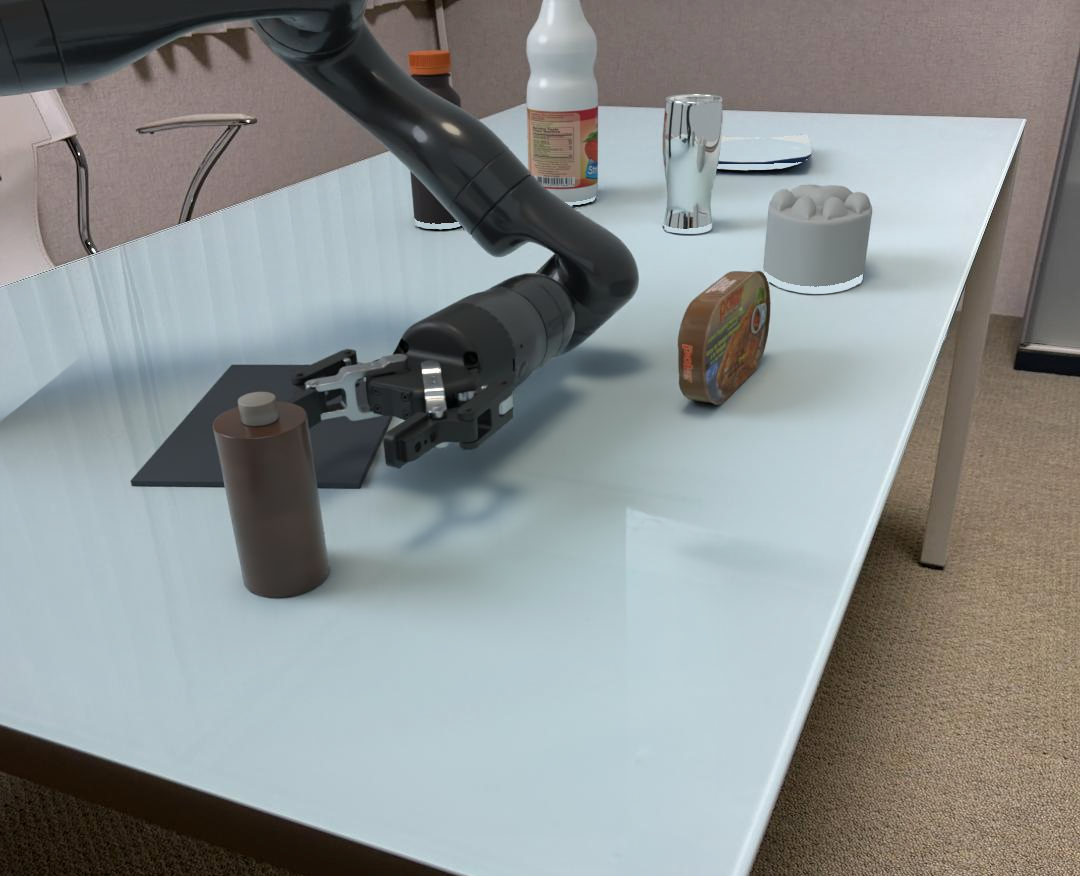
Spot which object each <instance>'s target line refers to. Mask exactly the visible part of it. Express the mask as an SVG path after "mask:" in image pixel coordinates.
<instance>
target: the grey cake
mask: <svg viewBox="0 0 1080 876" xmlns="http://www.w3.org/2000/svg"><path fill="white" fill-rule="evenodd" d="M870 200H871V199H870V198H869V196H868V195H867V194H866V193H864V192H862V191H855V192H853V191H851V190H850V189H849V188H848V187H846V186H843V185H838V184H837V185H836V184H835V185H834V184H827V185H818V184H800V185H798V186H796V187H794V188H793V189H792V190H788V189H786V188H784V189H780V190H778V191H776V192H775V193H774V195H773V196H772V198H771V200H770V201H769V204H768V207H767V208H768V209H767V218H766V230H765V242H764V253H763V265H762V269H763V268H764V271H765V272H767V273H768V274H769V275H771V276H773V277H774V278H776V279H778V280H780V281H782V282H786V283H788V284H789V283H790V284H794V285H800V286H810V287H811V286H814V287H817V286H818V287H819V286H828V285H829V286H830V285H835V284H839V283H845V282H847V281H850V280H852V279H854V278H856V277H859V276H860V275H862V274H863V272H864V273H865V269H866V260H867V253H868V246H869V238H870V231H871V223H872V217H873V206H872V203H871V201H870Z"/></svg>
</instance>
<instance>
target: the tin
mask: <svg viewBox="0 0 1080 876" xmlns="http://www.w3.org/2000/svg"><path fill="white" fill-rule="evenodd" d="M771 305H772V303H771V290H770V283H768V281H767V278H766V276H765V275H764V273H763V271H761V270H754V271H745V270H744V271H742V270H732V271H728V272H727V273H725V274H724V275H723V276H722V277H720V278H719V279H718V280H716V281H715V282H713V283H712V284H711V285H710V286H709V287H708V288H706V289H705V290H704V291H702V292H701V293H699V295H697V296H696V297H695V298H693V299H692V300H691V301H690V302H689V304H688V306H687V308H686V309H685V312H684V314H683V317H682V319H681V322H680V327H679V330H678V335H677V350H678V351H677V352H678V353H677V355H678V356H677V357H678V358H677V359H678V361H677V365H678V367H677V368H678V387H679V390H680V392H681V394H682V395H683V396H684V397H685V398H686V399H687V400H690V401H694V402H701V403H710V404H713V405H715V406H720V405H722V404H724V403H725V402H726V401H727V400H728V399H729V398H730V397H731V396H732V395H733V394H734V392H735V391H737V390H738V389H739V388H740V387H741V386H742V384H743V383H745V381H746V380H748V378H749V377H750V376H751V375H752V374H753V373H754V372H756V370H757V368H758V367H759V366H760V363H761V361H762V359H763V355H764V352H765V350H766V345H767V342H768V337H769V330H770V321H771Z"/></svg>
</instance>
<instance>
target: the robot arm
mask: <svg viewBox="0 0 1080 876" xmlns="http://www.w3.org/2000/svg"><path fill="white" fill-rule="evenodd" d="M368 2H369V0H0V97H8V96H19V95H20V96H21V95H26V94H31V93H32V94H33V93H38V92H44V91H51V90H57V89H64V88H67V87H68V88H71V87H75V86H80V85H83V84H89V83H92V82H95V81H98V80H100V79H104V78H105V77H108V76H110V75H112V74H114V73H117V72H119V71H121V70H122V69H125V68H127V67H129V66H130V65H132V64H134V63H136V62H137V61H139V60H141V59H143V58H144V57H146V56H148V55H149V54H151V53H152V52H155V51H156V50H158V49H160V48H161V47H163V46H165V45H167V44H170V43H171V42H173V41H174V40H176V39H178V38H180V37H182V36H185V35H187V34H189V33H192V32H195V31H198V30H201V29H204V28H207V27H212V26H217V25H221V24H222V25H223V24H230V23H237V22H243V21H250V25H251V27H252V29H253V31H254V33H255V34H256V36H257V37H258V39H259V40H260V41H261V43H262V44H263V45H264V46H265V47H266V48H267V49H268V51H270V52H271V53H272V54H273V55H275V57H276V58H278V59H279V60H280V61H281V62H283V64H285V65H286V66H287V67H288V68H290V69H291V70H292V71H293V72H295V74H297V75H298V76H299V77H301V78H302V79H303V80H304V81H306V82H307V83H308V84H309V85H311V86H312V87H314V88H315V89H316V90H317V91H319V92H320V93H321V94H322V95H324V96H325V97H326V98H327V99H328V100H330V101H331V102H332V103H333V104H334V105H336V106H337V107H338V108H339V109H341V111H342V112H344V113H345V114H346V115H347V116H349V118H351V119H352V120H354V121H355V123H357V124H358V125H359V126H361V128H363V129H364V130H365V131H366V132H367V133H368V134H370V135H371V136H372V137H373V138H374V139H376V140H377V141H378V142H379V143H380V144H381V145H382V146H383V147H385V148H386V149H387V150H388V151H389V152H390V153H391V154H392V155H393V156H394V157H396V159H397V160H398V161H399V162H400V163H401V164H403V165H404V166H405V168H407V169H408V171H409V172H410V171H411V172H412V173H413V174H414V175H415V176H416V177H417V178H418V179H419V180H420V181H421V182H422V183H423V184H424V185H425V186H426V188H427V189H428V190H429V191H430V192H431V193H432V194H433V195H434V196H435V197H436V198H437V199H438V201H439V202H440V203H441V204H442V205H443V206H444V207H445V208H446V209H447V211H449V213H450V214H451V215H452V216H453V217H454V218H455V219H456V220H457V221H458V222H459V224H460V225H461V226H462V228H463V229H464V231H466V232H467V234H468V235H469V236H471V238H472V239H473V241H475V242H476V243H477V244H478V246H480V247H481V249H482V250H484V252H486V253H488V255H490V256H492V257H495V258H503V257H506V256H508V255H510V254H512V253H514V252H515V251H517V250H518V249H519V248H521V247H523V246H525V245H526V244H529V243H533V244H536V245H538V246H540V247H543V248H545V249H547V250H549V251H550V252H552V253H553V254H552V255H551V257H549V259H547V260H546V262H545V263H543V265H542V266H540V268H539V269H537V271H536V272H526V273H522V274H517V275H514V276H512V277H510V278H507V279H505V280H503V281H501V282H499V283H497V284H495V285H493V286H491V287H490V288H488V289H485V290H482V291H480V292H476V293H472V294H470V295H467V296H465V297H463V298H461V299H458V300H457V301H455V302H453V303H451V304H450V305H447V306H445V307H444V308H441V309H440V310H438V311H436V312H434V313H432V314H430V315H428V316H426V317H424V318H422V319H421V320H418V321H416V322H415V323H413V324H412V325H410V326H409V327H408V328H407V329H406V330H405V332H404V333H403V334H402V336H401V337H400V339H399V341H398V343H397V345H396V347H395V349H394V350H393V352H392V353H391V354H388V355H384V356H382V357H381V358H377V359H375V360H372V361H369V362H361V361H358V355H357V350H355V349H350V348H346V349H342V350H340V351H337V352H335V353H334V354H331V355H328V356H327V357H324V358H322V359H320V360H318V361H316V362H314V363H312V364H308V365H309V366H307V367H305V368H303V369H300V370H298V371H296V372H294V373H292V374H291V375H290V379H291V386H292V392H293V397H291V398H289V399H287V400H285V401H283V402H287V403H292V404H295V405H298V406H300V407H302V408H303V409H304V410H305V411H306V413H307V419H308V425H309V428H311V427H313V426H315V425H316V424H318V423H320V422H321V420H325V419H331V418H336V417H341V416H346V417H348V418H349V420H351V421H358V420H363V419H369V418H374V417H379V416H392V418H398V419H399V420H403V421H402V422H401V423H399V424H397V425H395V426H394V427H392V428H391V429H389V430H388V431H386V432H385V434H384V436H383V438H382V444H383V452H384V462H385V465H386V466H387V467H391V468H395V469H402V467H404V466H405V465H407V464H408V463H411V462H413V461H416V460H418V459H419V458H421V457H422V456H424V455H425V454H426V453H428V452H430V451H431V450H432V449H444V448H447V447H449V446H450V443H459V448H460V449H461V450H464V451H473V450H477V449H478V448H479V447H481V446H482V445H483V444H484V443H486V441H488V440H489V439H490V438H491V437H492V436H494V435H495V434H496V433H497V432H498V431H500V430H501V429H502V428H503V427H505V425H506V424H508V423H509V422H510V421H511V420H513V419H514V414H515V413H514V391H515V390H516V389H517V388H518V387H520V386H521V385H522V384H524V383H525V382H526V381H527V379H528V378H529V377H531V375H532V374H533V373H534V372H536V371H537V370H538V369H540V368H541V367H543V366H544V365H546V364H548V363H549V362H551V361H552V360H553V359H555V358H559V357H561V356H565V355H567V354H568V353H569V352H572V351H573V350H574V349H576V348H577V347H579V346H580V345H582V344H583V343H584V342H585V341H587V339H589V338H591V336H592V335H593V334H595V333H596V331H598V330H599V329H601V327H602V326H603V325H605V324H606V323H607V322H608V321H609V320H610V319H611V318H612V317H613V316H614V315H615V314H617V313H618V312H619V311H620V310H621V309H623V307H625V306H626V305H627V304H628V303H629V302H630V301H631V300H632V299H633V298H634V296H635V295H636V293H637V291H638V289H639V283H640V274H639V268H638V265H637V262H636V259H635V257H634V255H633V254H632V251H630V249H629V248H628V246H627V245H626V244H625V243H624V241H623V240H622V239H620V238H619V237H618V236H617V235H615V234H614V233H613V232H611V231H610V230H608V229H607V228H606V227H604V226H602V225H601V224H599V223H597V222H596V221H594V220H592V219H591V218H589V217H587V216H586V215H585V214H583V213H581V212H580V211H578V210H577V209H576V208H574V206H570V205H568V204H567V203H565V202H564V201H563V200H561V199H560V198H558V197H557V196H555V195H554V194H552V193H551V192H550V191H548V190H547V189H546V188H545V187H543V186H542V185H541V184H540V183H539V182H538V180H537V179H536V178H535V177H534V176H533V175H531V173H530V171H529V170H528V167H527V166H526V165H524V163H523V162H522V161H521V160H520V159H519V157H517V156H516V155H515V154H514V152H513V151H512V150H511V149H510V148H509V147H508V146H507V144H506V143H504V141H503V140H502V139H501V138H500V137H499V136H498V135H497V134H496V132H494V131H493V130H492V129H491V128H489V127H488V126H487V125H486V124H485V123H484V122H482V121H481V120H480V119H479V118H477V117H476V116H474V115H473V114H471V113H470V112H468V111H467V110H465V109H464V108H462V107H461V108H460V107H458V106H456V105H454V104H453V103H451V102H449V101H447V100H446V99H444V98H442V97H440V96H438V95H437V94H435V93H433V92H431V91H430V90H428V89H427V88H425V87H423V86H422V85H421V84H419V83H418V82H417V81H415V80H414V79H413V78H411V75H409V74H408V73H407V72H406V71H404V69H402V68H401V66H399V64H397V63H396V61H395V60H394V59H393V57H391V56H390V55H389V54H388V52H387V51H386V50H385V48H384V47H383V46H382V44H381V42H380V41H379V40H378V39H377V38H376V37H375V34H374V33H373V32H372V30H371V29H370V27H369V25H368V24H367V23H366V21H365V20H364V16H365V13H366V9H367V5H368ZM360 382H366V394H367V402H368V404H367V405H361V406H359V405H358V402H357V394H356V387H358V386H359V385H360ZM340 395H342V401H341V402H340V403H337V404H331V405H327V402H328V401H330V400H332V399H334V398H336V397H338V396H340Z"/></svg>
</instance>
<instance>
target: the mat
mask: <svg viewBox="0 0 1080 876" xmlns="http://www.w3.org/2000/svg"><path fill="white" fill-rule="evenodd" d="M309 365H310V364H231V365H230V366H229V367H228V368H227V369H226V370H225V371H224V373H222V375H221V377H219V379H218V380H216V382H215V383H214V384H213V385H212V387H210V389H209V390H208V391H207V392H206V393H205V394H204V395H203V397H202V398H201V399H200V400H199V401H198V402H197V404H196V405H195V406H194V407H193V408H192V410H191V411H190V412H189V413H188V414H187V415H186V416H185V418H184V419H182V421H181V422H180V423H179V424H178V425H177V427H176V428H175V429H174V430H173V431H172V432H171V434H170V435H169V436H168V437H167V438H166V439H165V440H164V442H163V443H162V444H161V445H160V446H159V447H158V448H157V449H156V450H155V452H154V453H153V454H152V455H151V456H150V457H149V459H148V460H147V461H146V462H145V463H144V465H143V466H142V467H141V468H140V469H139V470H138V471H137V472H136V473H135V475H134V476H133V477H132V478H131V479H130V485H131V486H132V487H133V486H137V487H139V486H140V487H141V486H142V487H143V486H145V487H146V486H147V487H221V488H222V487H224V488H225V486H224V481H223V476H222V471H221V466H220V461H219V455H218V450H217V445H216V440H215V435H214V430H213V423H214V421H215V419H216V418H217V417H218V416H220V415H221V414H222V413H224V412H226V411H228V410H230V409H233V408H235V407H238V399H239V398H240V397H242V396H243V395H246V394H249V393H253V392H269V393H272V394H274V395H275V397H276V402H283V401H285V400H287V399H289V398H291V397H293V392H292V386H291V379H290V375H291V374H292V373H294V372H296V371H298V370H300V369H303V368H305V367H307V366H309ZM356 394H357V402H358V405H359V406H361V405H367V404H368V402H367V394H366V382H360V385H359V386H358V387H356ZM341 401H342V395H340V396H338V397H336V398H334V399H332V400H330V401H328V402H327V405H331V404H337V403H340V402H341ZM392 418H393V417H392V416H379V417H374V418H369V419H363V420H358V421H351V420H349V418H348V417H346V416H341V417H336V418H331V419H325V420H321V422H320V423H318V424H316V425H315V426H313V427H311V428H309V432H310V439H311V446H312V453H313V459H314V466H315V473H316V480H317V487H318V489H319V488H320V489H321V488H323V489H325V488H328V489H329V488H330V489H333V488H334V489H336V488H337V489H360V488H361V486H362V484H363V482H364V479H365V477H366V475H367V473H368V471H369V468H370V466H371V464H372V462H373V459H374V457H375V455H376V453H377V451H378V450H379V446H380V444H381V442H382V441H383V439H384V436H385V434H386V432H387V429H388V427H389V426H390V422H391V421H392Z"/></svg>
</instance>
